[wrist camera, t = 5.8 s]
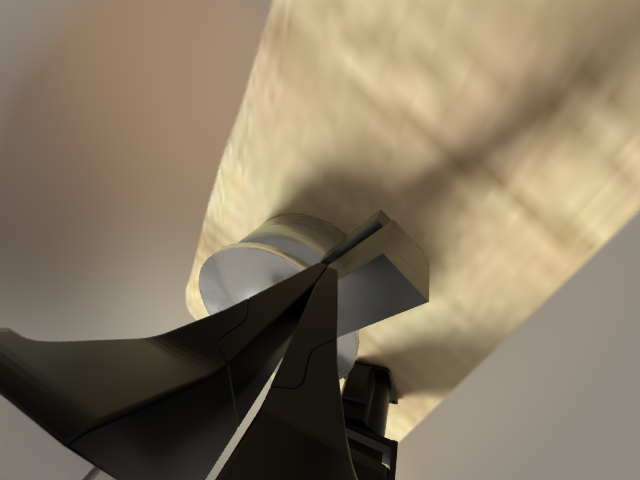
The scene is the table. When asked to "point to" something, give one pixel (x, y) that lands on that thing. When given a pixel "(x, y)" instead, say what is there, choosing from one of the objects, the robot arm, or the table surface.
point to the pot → (313, 236)
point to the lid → (353, 281)
